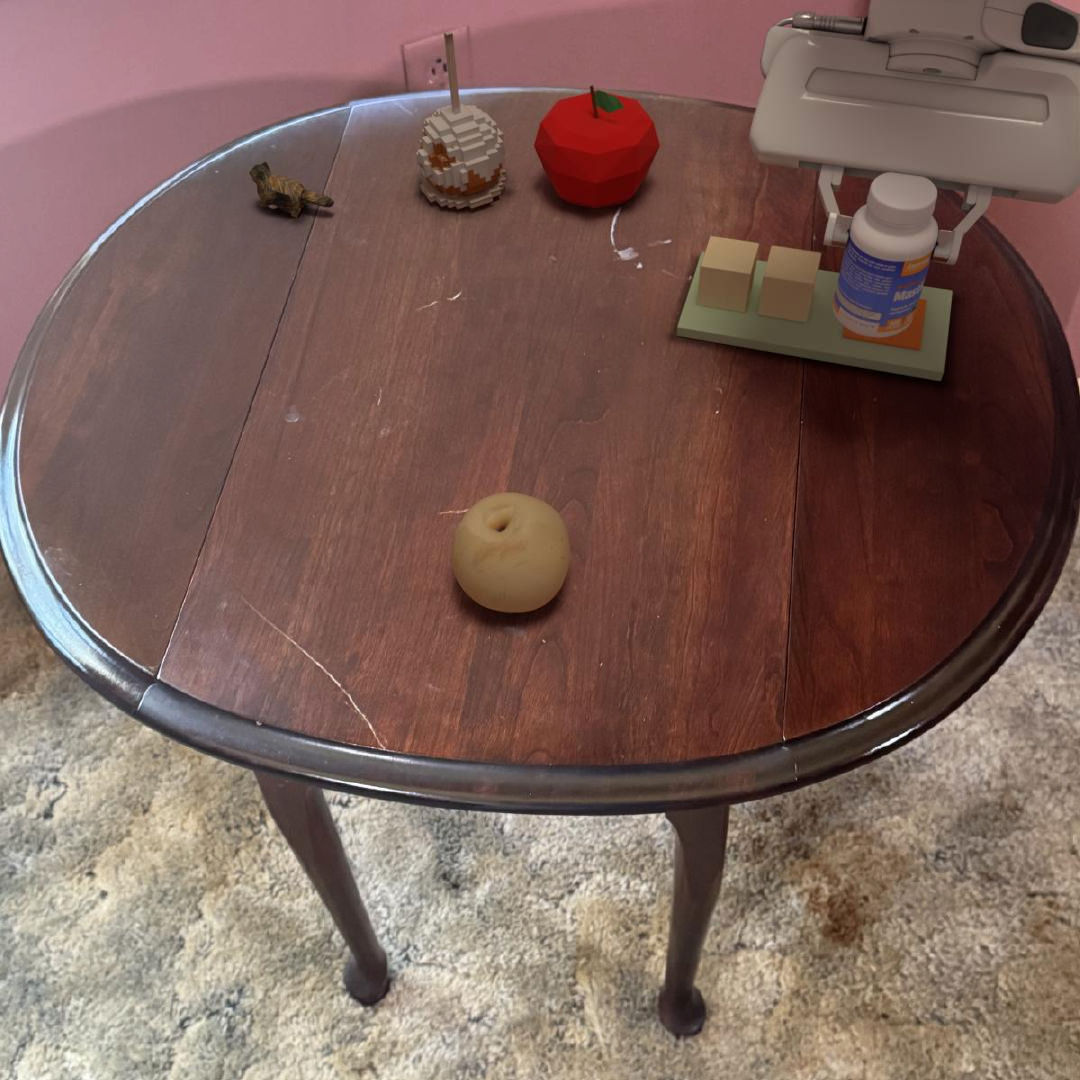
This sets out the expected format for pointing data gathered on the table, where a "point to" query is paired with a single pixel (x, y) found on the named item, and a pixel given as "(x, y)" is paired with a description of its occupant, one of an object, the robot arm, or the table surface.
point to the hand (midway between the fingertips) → (888, 253)
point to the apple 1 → (511, 552)
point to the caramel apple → (460, 150)
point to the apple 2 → (596, 148)
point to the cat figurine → (284, 191)
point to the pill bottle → (887, 256)
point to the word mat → (819, 330)
